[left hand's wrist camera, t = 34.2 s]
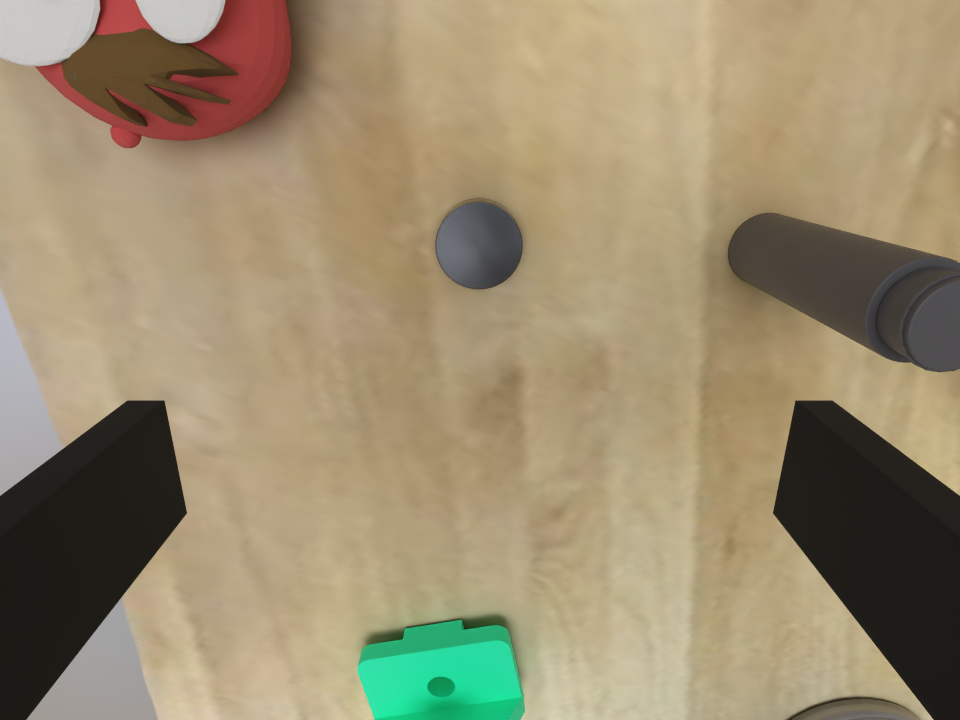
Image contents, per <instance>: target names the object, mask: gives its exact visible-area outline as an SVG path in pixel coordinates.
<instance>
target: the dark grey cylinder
mask: <svg viewBox="0 0 960 720" xmlns="http://www.w3.org/2000/svg"><path fill="white" fill-rule="evenodd" d="M728 258H729V263H730V266H731V268H732V270H733V271H734V273H735V274H736V275H737V276H738V277H739V278H740V279H742V280H744V281H746V282H747V283H749V284H751V285H753V286H755V287H757V288H758V289H760V290H762V291H764V292H766V293H768V294H769V295H771V296H773V297H775V298H777V299H779V300H780V301H782V302H784V303H786V304H788V305H790V306H791V307H793V308H795V309H797V310H799V311H801V312H802V313H804V314H806V315H808V316H810V317H812V318H813V319H815V320H817V321H819V322H821V323H823V324H824V325H826V326H828V327H830V328H832V329H834V330H835V331H837V332H839V333H841V334H843V335H845V336H846V337H848V338H850V339H852V340H854V341H856V342H857V343H859V344H861V345H863V346H865V347H867V348H868V349H870V350H872V351H874V352H876V353H878V354H879V355H881V356H883V357H885V358H887V359H890V360H892V361H897V362H905V363H907V362H912V363H913V364H915V365H917V366H919V367H921V368H923V369H925V370H929V371H936V372H946V371H955V370H958V369H960V263H958V262H957V261H954V260H952V259H949V258H945V257H941V256H937V255H933V254H929V253H926V252H922V251H918V250H914V249H910V248H906V247H903V246H899V245H895V244H891V243H887V242H883V241H880V240H876V239H872V238H868V237H864V236H860V235H856V234H853V233H849V232H845V231H841V230H837V229H833V228H830V227H826V226H822V225H818V224H814V223H810V222H806V221H803V220H799V219H795V218H791V217H787V216H783V215H780V214H775V213H765V214H760V215H757V216H754V217H752V218H750V219H749V220H747V221H746V222H744V223H743V224H742V225H741V226H740V227H739V228H738V229H737V231H736V232H735V234H734V235H733V237H732V239H731V242H730V245H729V251H728Z"/></svg>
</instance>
